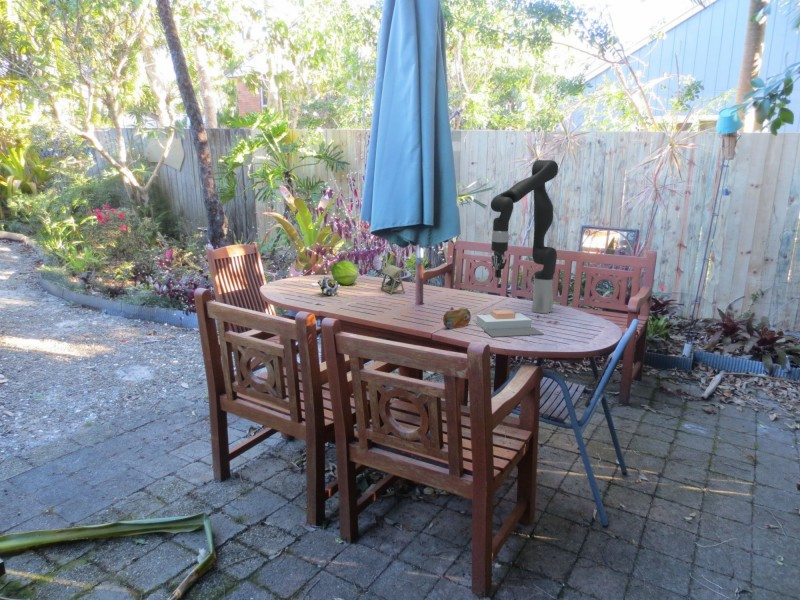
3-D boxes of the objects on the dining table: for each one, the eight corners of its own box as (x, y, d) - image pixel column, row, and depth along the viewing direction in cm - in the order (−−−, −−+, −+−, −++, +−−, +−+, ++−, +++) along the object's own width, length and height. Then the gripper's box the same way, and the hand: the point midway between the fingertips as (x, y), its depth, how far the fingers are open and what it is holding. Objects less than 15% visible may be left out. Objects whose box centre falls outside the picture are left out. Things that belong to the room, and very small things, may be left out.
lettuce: (368, 283, 334) (349, 290, 324) (344, 277, 350) (325, 284, 339) (365, 260, 330) (346, 266, 319) (341, 256, 345) (322, 262, 335)
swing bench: (380, 289, 321) (380, 265, 318) (394, 288, 325) (394, 264, 322) (390, 295, 308) (391, 269, 305) (405, 293, 312) (406, 268, 309)
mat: (533, 328, 245) (533, 327, 245) (543, 334, 236) (543, 333, 236) (483, 331, 240) (483, 329, 240) (492, 337, 231) (492, 336, 231)
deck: (519, 321, 257) (520, 313, 256) (530, 328, 246) (531, 319, 245) (476, 323, 253) (476, 315, 252) (485, 330, 241) (485, 322, 240)
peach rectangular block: (509, 315, 252) (510, 309, 252) (515, 318, 247) (515, 313, 246) (491, 315, 251) (491, 310, 250) (496, 319, 245) (496, 314, 244)
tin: (446, 330, 241) (446, 312, 239) (441, 328, 243) (442, 310, 241) (470, 325, 250) (471, 307, 248) (466, 323, 252) (466, 306, 250)
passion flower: (332, 306, 305) (326, 290, 295) (316, 299, 311) (309, 283, 301) (346, 291, 311) (340, 275, 301) (329, 284, 317) (323, 268, 307)
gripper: (513, 242, 244) (511, 279, 248) (501, 238, 256) (499, 274, 260) (497, 242, 242) (495, 280, 246) (487, 238, 255) (485, 274, 259)
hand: (497, 277), depth 253 cm, fingers closed
